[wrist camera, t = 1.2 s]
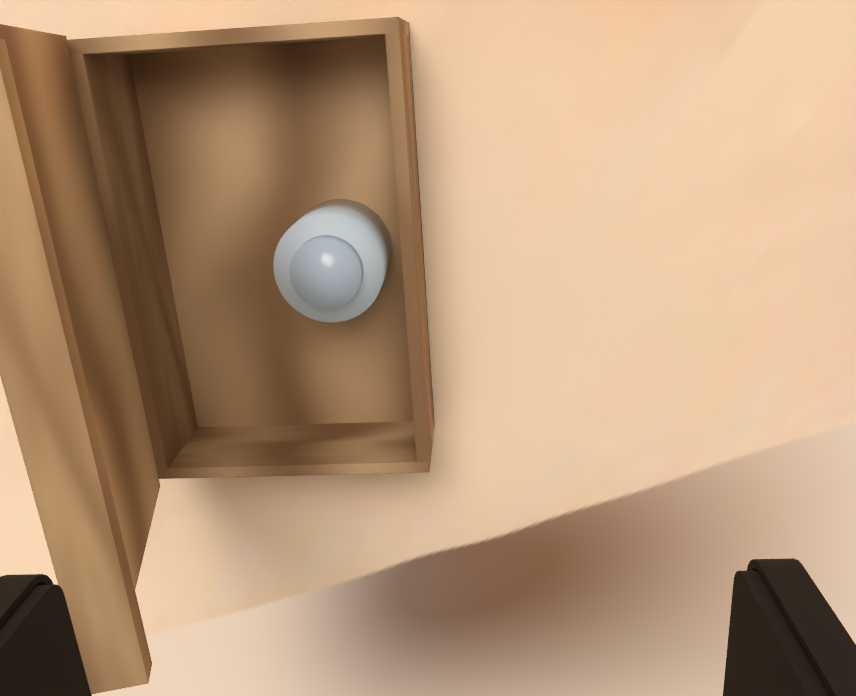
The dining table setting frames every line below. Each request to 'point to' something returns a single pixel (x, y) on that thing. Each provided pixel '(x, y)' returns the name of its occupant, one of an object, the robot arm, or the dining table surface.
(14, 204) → the lid
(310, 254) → the blue jar
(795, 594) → the robot arm
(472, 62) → the dining table surface
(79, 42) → the box
